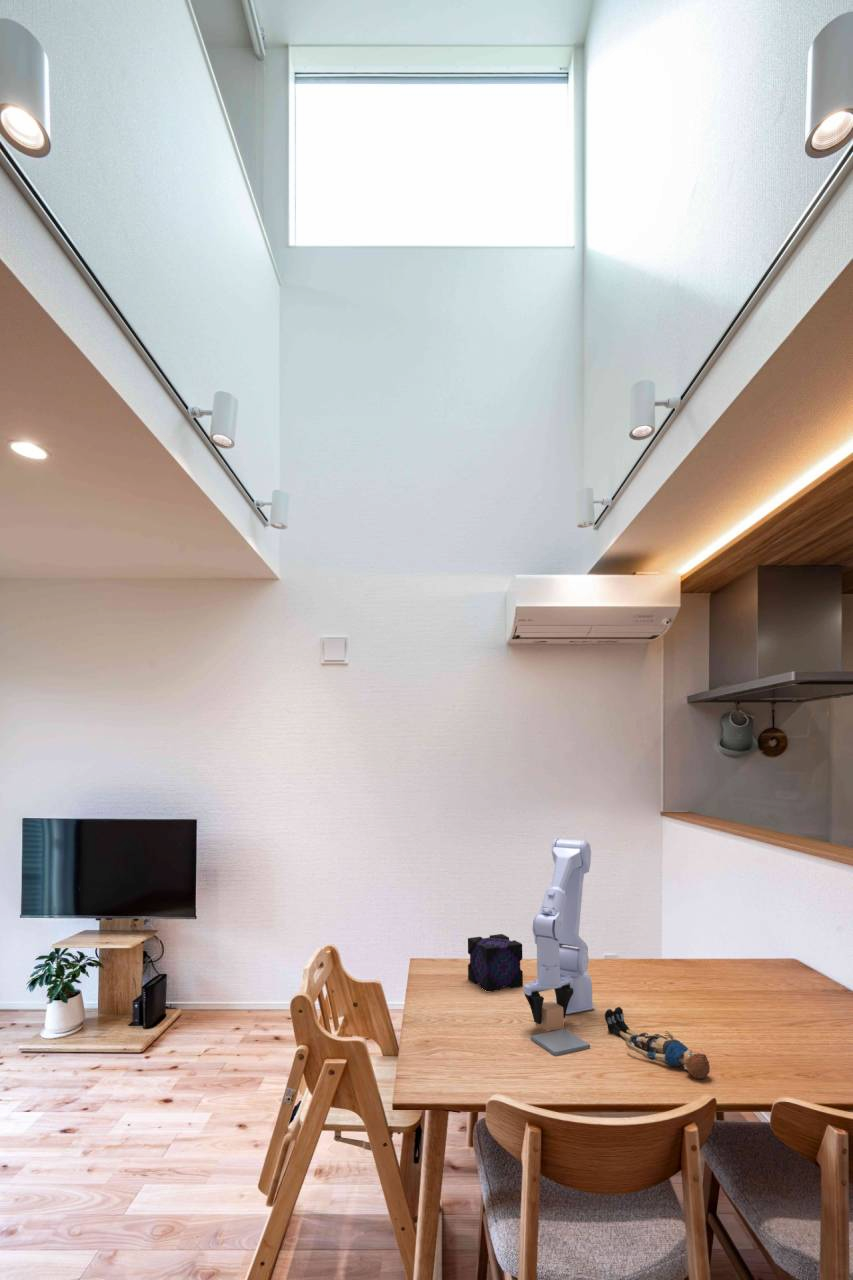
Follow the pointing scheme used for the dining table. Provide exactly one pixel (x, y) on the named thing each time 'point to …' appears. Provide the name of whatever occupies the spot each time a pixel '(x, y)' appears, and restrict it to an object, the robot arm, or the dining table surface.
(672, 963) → the dining table surface
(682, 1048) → the figurine
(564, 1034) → the plate
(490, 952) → the energy cube
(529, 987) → the robot arm
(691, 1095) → the dining table surface
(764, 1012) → the dining table surface
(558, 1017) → the terracotta cube
